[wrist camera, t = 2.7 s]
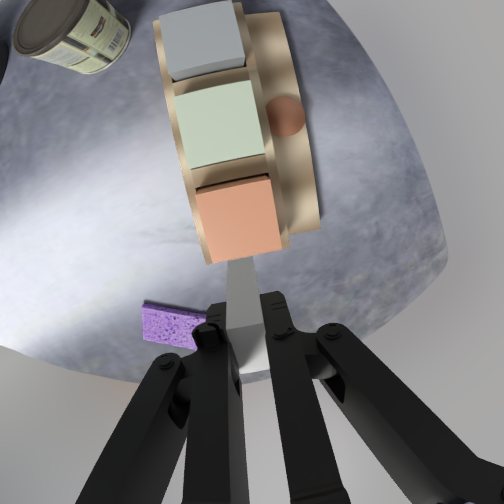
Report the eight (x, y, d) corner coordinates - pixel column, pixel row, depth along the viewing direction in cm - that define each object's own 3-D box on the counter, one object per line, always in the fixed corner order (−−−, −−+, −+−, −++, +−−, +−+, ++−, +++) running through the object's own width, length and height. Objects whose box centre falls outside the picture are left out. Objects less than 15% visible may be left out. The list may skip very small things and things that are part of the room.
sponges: (214, 346, 45) (214, 353, 43) (144, 333, 43) (141, 340, 42) (220, 314, 43) (220, 321, 41) (143, 300, 41) (140, 307, 39)
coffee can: (74, 26, 22) (22, -1, 9) (134, 7, 23) (96, -39, 10) (67, 83, 26) (5, 70, 13) (129, 65, 27) (78, 33, 14)
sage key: (182, 104, 26) (172, 97, 22) (247, 89, 26) (250, 80, 22) (195, 165, 29) (188, 169, 25) (260, 151, 29) (265, 152, 25)
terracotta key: (200, 186, 30) (194, 195, 26) (264, 173, 30) (270, 179, 26) (215, 245, 33) (212, 263, 29) (275, 233, 33) (282, 249, 29)
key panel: (164, 38, 26) (152, 21, 20) (276, 17, 26) (284, -2, 20) (209, 245, 37) (206, 264, 32) (316, 224, 37) (330, 239, 32)
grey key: (168, 32, 22) (158, 16, 18) (231, 18, 22) (231, -1, 18) (178, 83, 25) (168, 73, 21) (243, 69, 25) (245, 56, 21)
